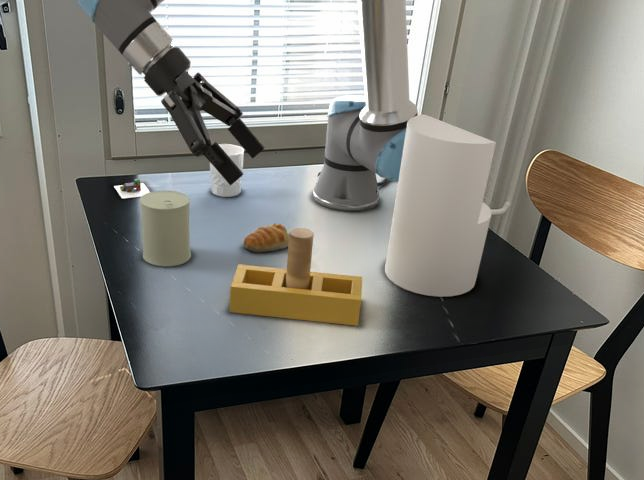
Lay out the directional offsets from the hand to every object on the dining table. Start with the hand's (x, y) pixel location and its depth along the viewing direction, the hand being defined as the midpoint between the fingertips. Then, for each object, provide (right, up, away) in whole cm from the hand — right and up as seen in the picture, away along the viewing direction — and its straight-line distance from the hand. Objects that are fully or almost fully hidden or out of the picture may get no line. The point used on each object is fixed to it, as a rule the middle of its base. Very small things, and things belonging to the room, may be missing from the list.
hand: (248, 166), depth 119 cm
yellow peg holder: (+8, -23, +6) cm, 25 cm away
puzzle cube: (-28, +7, +47) cm, 55 cm away
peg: (+8, -23, +6) cm, 25 cm away
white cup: (-7, +7, +49) cm, 50 cm away
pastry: (+3, -9, +26) cm, 28 cm away
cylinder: (+34, -16, +19) cm, 42 cm away
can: (-16, -12, +20) cm, 28 cm away
